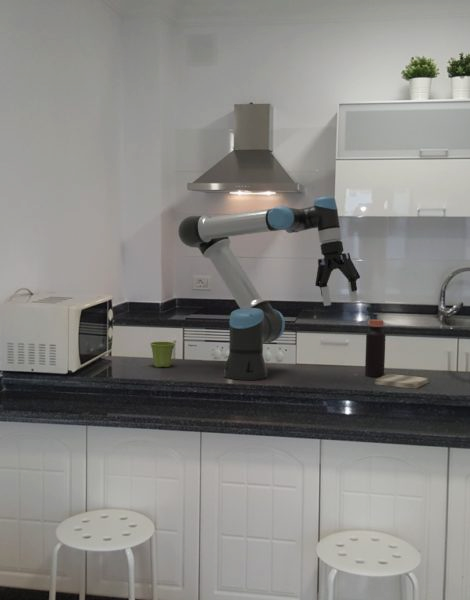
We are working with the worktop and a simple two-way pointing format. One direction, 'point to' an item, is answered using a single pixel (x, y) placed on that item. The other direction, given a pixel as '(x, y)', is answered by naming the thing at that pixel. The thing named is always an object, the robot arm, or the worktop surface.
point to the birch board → (401, 381)
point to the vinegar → (375, 349)
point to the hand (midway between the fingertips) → (340, 303)
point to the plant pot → (162, 353)
